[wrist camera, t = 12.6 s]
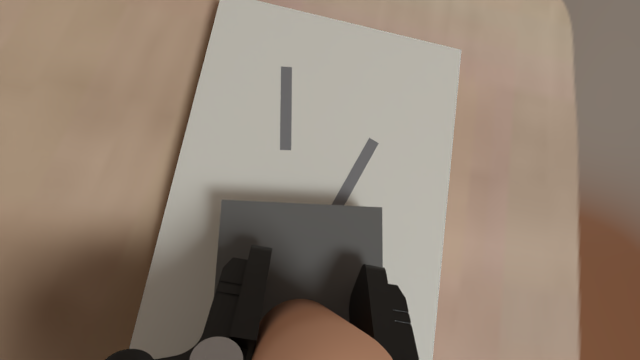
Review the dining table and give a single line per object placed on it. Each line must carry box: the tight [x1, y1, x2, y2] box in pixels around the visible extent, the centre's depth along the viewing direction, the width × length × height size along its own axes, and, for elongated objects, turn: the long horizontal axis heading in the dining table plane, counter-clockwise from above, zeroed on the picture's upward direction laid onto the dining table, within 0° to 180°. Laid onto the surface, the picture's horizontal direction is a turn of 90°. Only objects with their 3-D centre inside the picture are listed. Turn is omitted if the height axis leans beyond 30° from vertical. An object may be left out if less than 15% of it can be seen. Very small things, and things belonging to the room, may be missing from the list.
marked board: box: [129, 0, 461, 360], centre depth 17 cm, size 26×12×2 cm, turn 170°
